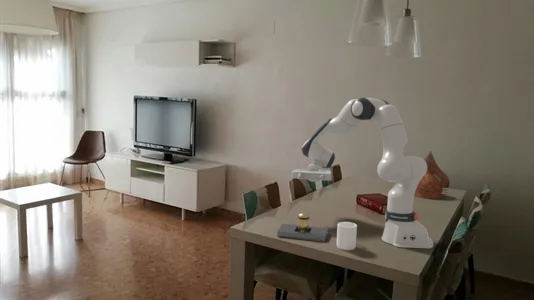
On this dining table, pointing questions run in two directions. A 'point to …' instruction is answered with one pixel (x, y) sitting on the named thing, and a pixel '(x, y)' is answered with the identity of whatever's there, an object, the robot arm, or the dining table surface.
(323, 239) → the grey recessed slab
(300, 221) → the gold cylinder
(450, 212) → the dining table surface
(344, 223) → the cup
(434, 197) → the decorative ornament
